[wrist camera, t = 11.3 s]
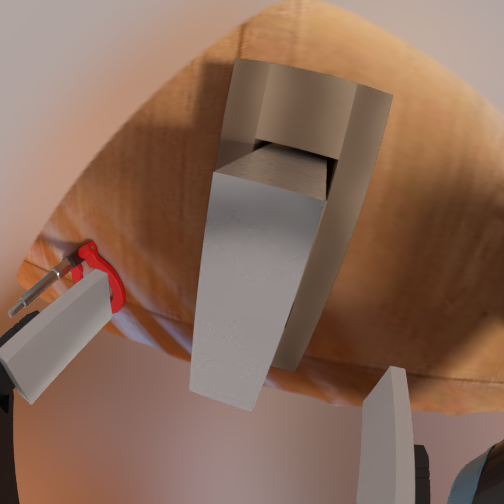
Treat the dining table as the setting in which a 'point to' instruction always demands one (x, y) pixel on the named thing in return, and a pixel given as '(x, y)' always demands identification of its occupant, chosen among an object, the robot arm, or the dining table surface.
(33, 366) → the robot arm
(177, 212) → the dining table surface
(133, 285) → the dining table surface
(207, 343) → the clip
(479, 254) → the dining table surface
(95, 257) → the tow hook
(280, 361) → the slotted wooden block
